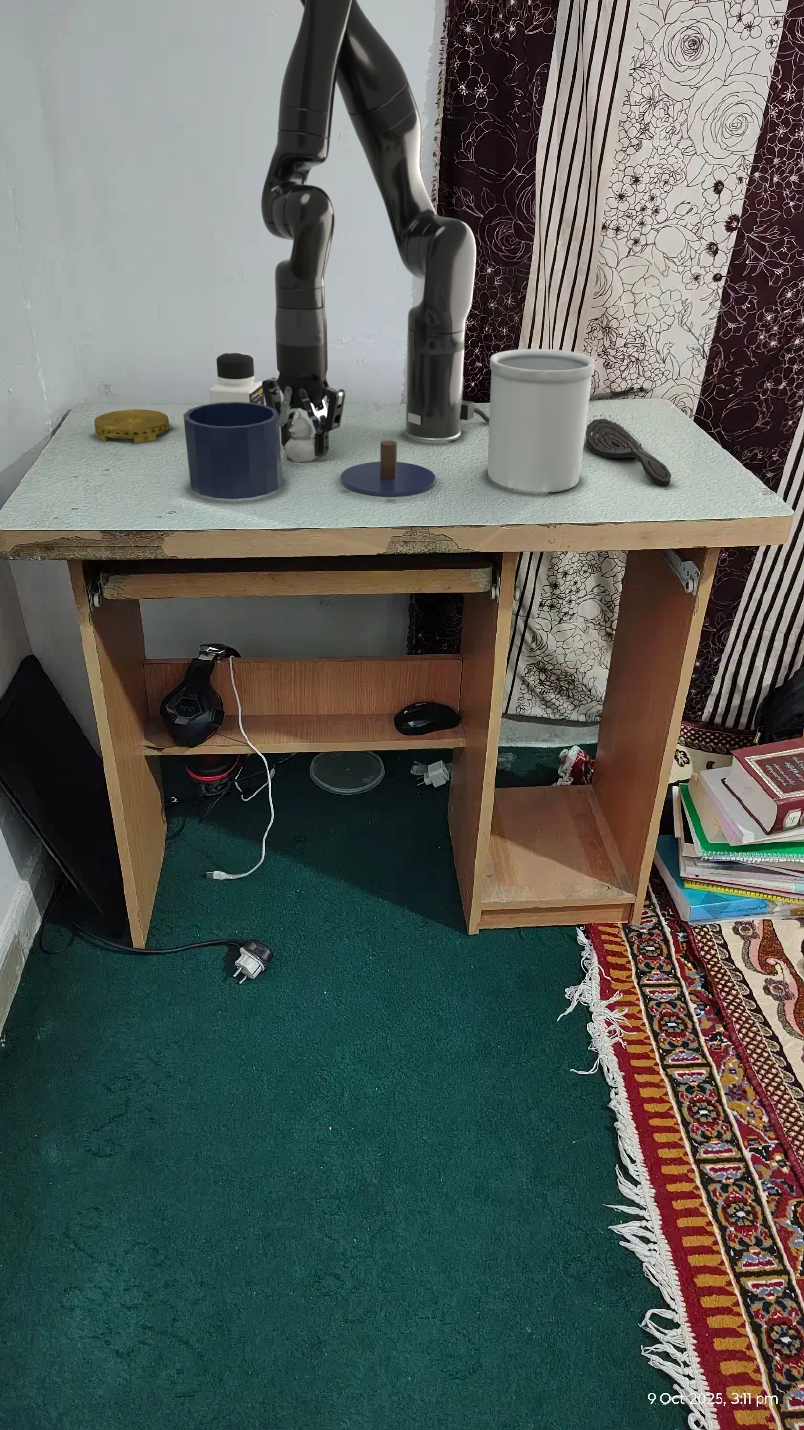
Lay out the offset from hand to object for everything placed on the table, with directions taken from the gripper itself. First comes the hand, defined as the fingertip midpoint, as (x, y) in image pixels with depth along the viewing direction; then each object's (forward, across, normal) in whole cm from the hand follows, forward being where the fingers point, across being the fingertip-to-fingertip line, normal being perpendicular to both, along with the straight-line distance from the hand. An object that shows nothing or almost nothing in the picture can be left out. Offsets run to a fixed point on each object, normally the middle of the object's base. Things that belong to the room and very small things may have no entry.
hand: (305, 452), depth 153 cm
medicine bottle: (+2, +20, -9) cm, 22 cm away
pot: (+2, +2, +15) cm, 15 cm away
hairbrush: (+2, -43, -29) cm, 52 cm away
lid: (+1, -16, +2) cm, 16 cm away
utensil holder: (+2, -33, -12) cm, 35 cm away
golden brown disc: (+2, +33, +3) cm, 33 cm away
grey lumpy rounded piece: (+2, 0, 0) cm, 2 cm away
